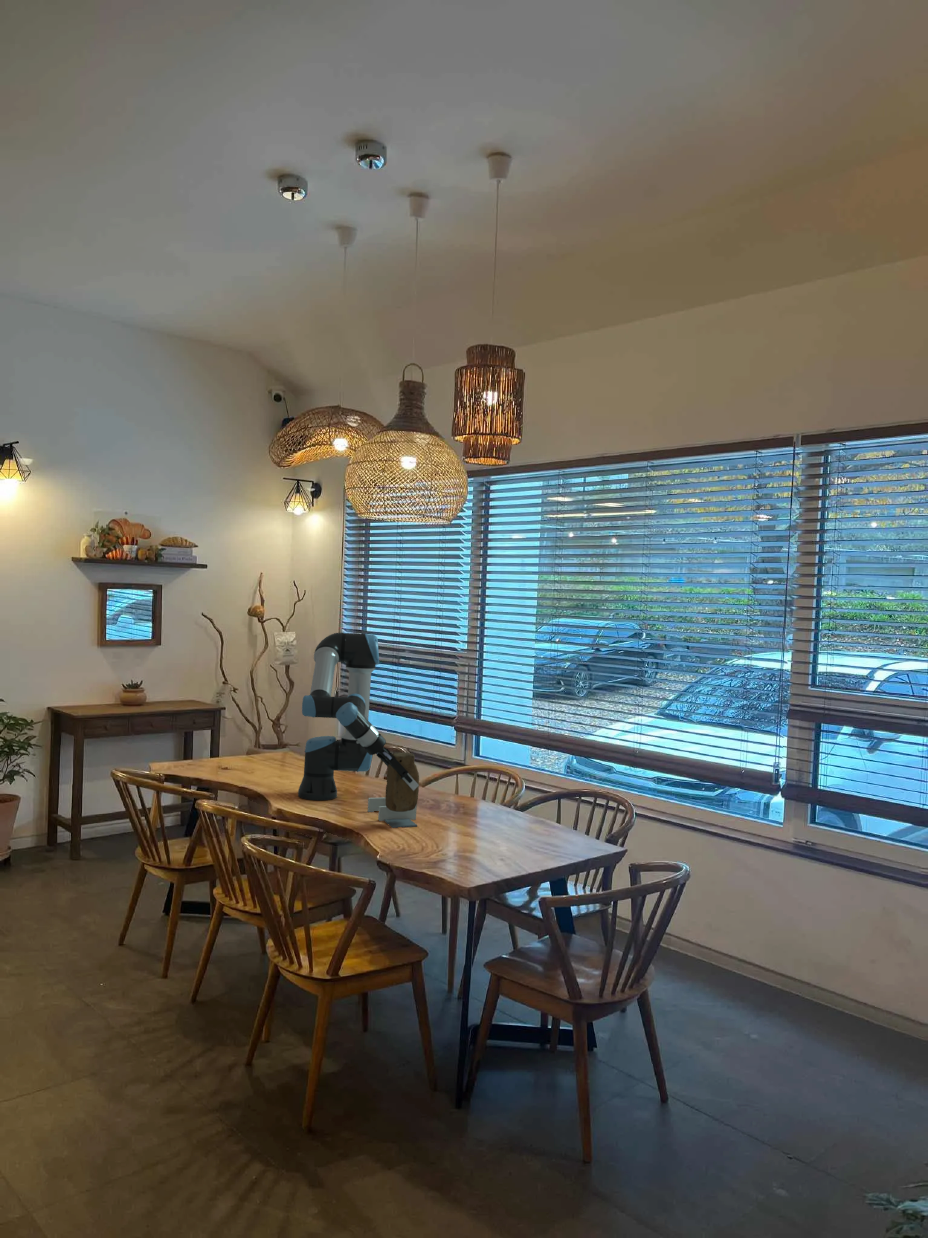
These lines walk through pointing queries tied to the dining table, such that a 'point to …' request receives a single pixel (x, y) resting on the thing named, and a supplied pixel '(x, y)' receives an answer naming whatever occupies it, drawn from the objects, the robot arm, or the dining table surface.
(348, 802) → the dining table surface
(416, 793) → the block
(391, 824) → the mat
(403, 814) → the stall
